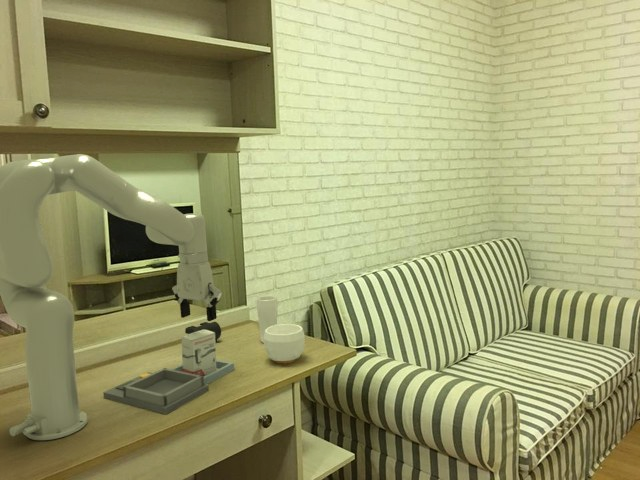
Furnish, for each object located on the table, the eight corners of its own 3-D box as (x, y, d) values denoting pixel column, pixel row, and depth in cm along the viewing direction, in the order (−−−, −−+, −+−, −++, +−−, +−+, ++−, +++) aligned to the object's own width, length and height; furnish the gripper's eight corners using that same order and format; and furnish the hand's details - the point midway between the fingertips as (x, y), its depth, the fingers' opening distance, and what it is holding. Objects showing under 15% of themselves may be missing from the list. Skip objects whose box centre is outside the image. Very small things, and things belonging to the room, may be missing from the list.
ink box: (194, 381, 141) (191, 339, 140) (182, 377, 144) (179, 336, 143) (218, 371, 148) (215, 331, 146) (206, 367, 151) (204, 328, 150)
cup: (256, 361, 155) (254, 330, 154) (286, 350, 164) (285, 321, 163) (283, 370, 146) (282, 338, 145) (314, 359, 155) (312, 328, 154)
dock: (166, 414, 121) (164, 398, 121) (103, 397, 132) (102, 382, 131) (208, 390, 134) (207, 376, 134) (148, 377, 145) (147, 363, 144)
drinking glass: (254, 341, 174) (252, 298, 172) (270, 336, 178) (268, 294, 177) (266, 345, 169) (264, 301, 167) (282, 341, 173) (281, 297, 172)
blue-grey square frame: (202, 386, 137) (202, 379, 137) (165, 378, 143) (165, 371, 143) (234, 369, 149) (234, 363, 148) (199, 362, 155) (198, 356, 155)
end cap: (198, 350, 167) (197, 329, 167) (185, 346, 172) (183, 326, 171) (222, 342, 175) (221, 322, 174) (208, 338, 179) (207, 319, 179)
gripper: (161, 259, 143) (166, 318, 145) (208, 262, 135) (213, 325, 137) (180, 254, 150) (185, 311, 152) (227, 257, 141) (231, 317, 144)
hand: (198, 318), depth 144 cm, fingers open, 9 cm apart
